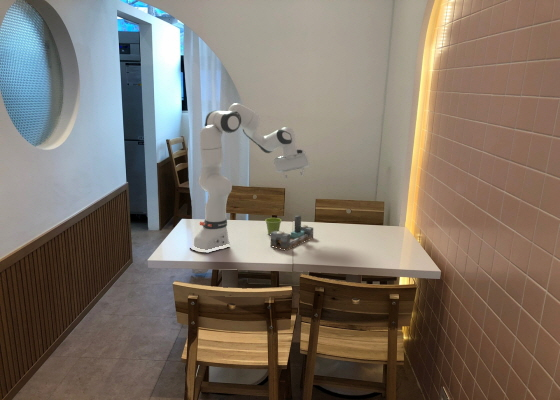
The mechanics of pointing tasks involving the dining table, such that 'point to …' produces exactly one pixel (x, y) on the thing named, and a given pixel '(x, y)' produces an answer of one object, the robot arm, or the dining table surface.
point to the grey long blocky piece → (287, 240)
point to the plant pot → (273, 224)
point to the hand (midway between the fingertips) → (294, 177)
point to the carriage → (297, 228)
